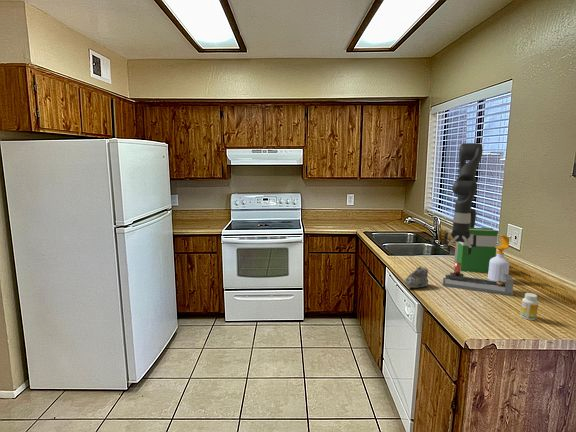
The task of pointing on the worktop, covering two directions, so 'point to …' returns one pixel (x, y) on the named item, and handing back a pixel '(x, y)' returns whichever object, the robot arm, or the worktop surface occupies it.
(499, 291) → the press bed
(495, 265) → the soap bottle
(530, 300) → the supplement bottle
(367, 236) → the worktop surface
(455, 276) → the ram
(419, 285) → the mineral rock
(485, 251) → the hardback book
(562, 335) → the worktop surface
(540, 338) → the worktop surface
